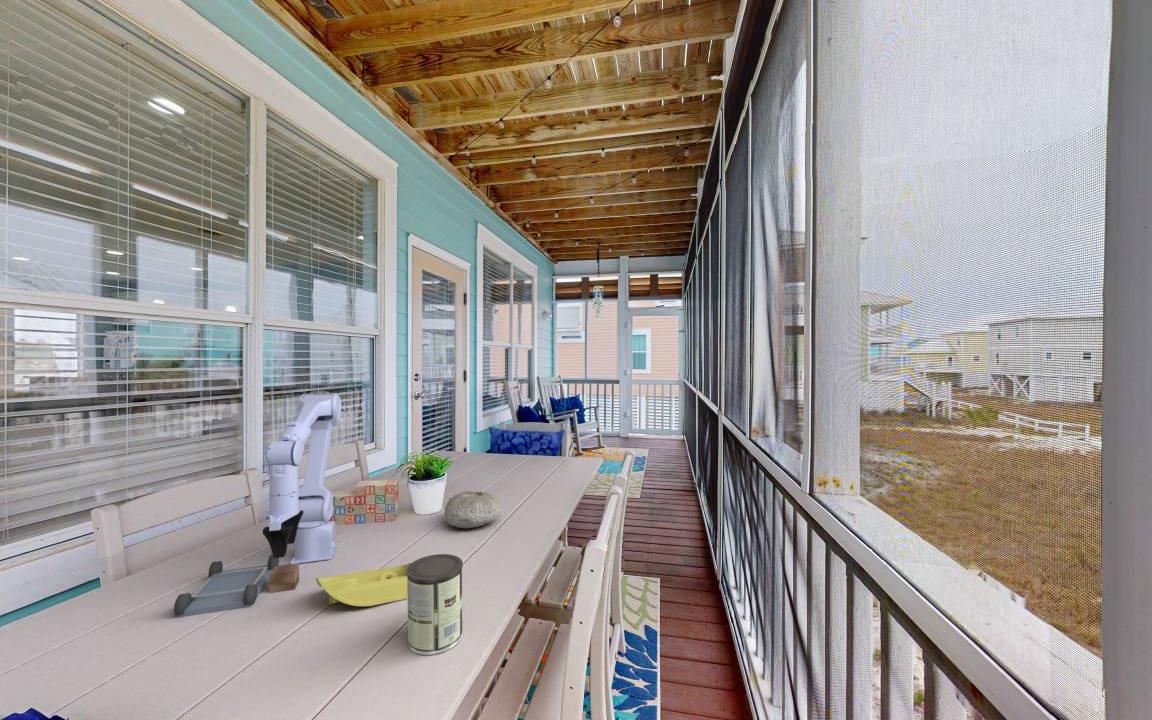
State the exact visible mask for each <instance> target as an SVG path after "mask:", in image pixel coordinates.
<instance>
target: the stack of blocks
mask: <svg viewBox="0 0 1152 720" xmlns="http://www.w3.org/2000/svg"><path fill="white" fill-rule="evenodd" d="M399 490H400V489H399V480H398V479H390V480H389V479H378V480H362V481H361V480H360V481H359V482H358V483H357V484H356V485H355V486H354V490H340V491H339V490H337V491H331V492H332V494H333V513H332V516H331V518H330V519H329V520H328V521H334V522H335V526H339V525H341V526H342V525H357V524H370V523H371V524H372V523H389V522H396V520H397V518H398V516H399V492H400V491H399Z"/></svg>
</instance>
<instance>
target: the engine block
mask: <svg viewBox="0 0 1152 720" xmlns="http://www.w3.org/2000/svg"><path fill="white" fill-rule="evenodd" d="M299 582H300V563H296V564H290V563H289V564H280V565H278V566H275V567H274V568H273V570H272V571H271V572H270V574H269V581H268V583H269V594H272V593H273V594H274V593H280V592H288V591H294V590H296V589H297V586H298V584H299Z"/></svg>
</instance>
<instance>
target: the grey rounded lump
mask: <svg viewBox="0 0 1152 720" xmlns="http://www.w3.org/2000/svg"><path fill="white" fill-rule="evenodd" d="M501 513H502V507H501V503H500V501H499V499H498V497H497V496H495V495H494V494H492V493H489V492H488V491H482V490H481V491H473V490H472V491H471V490H465V491H463V492H459V493H457V494H456V493H455V494H454V495H453V496H452V497H450V498H449V499H448V501H447V502H446V503H445V508H444V514H443V515H444V518H445V519H444V520H446V523H448V524H449V525H451V526H453V527H456V528H458V529H460V528H462V529H471V528H472V529H473V528H477V527H481V526H484V525H486V524H489V523H492V522H495V521H496V520H497V519H498V518H499V516H500V515H501Z"/></svg>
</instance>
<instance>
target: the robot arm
mask: <svg viewBox="0 0 1152 720" xmlns="http://www.w3.org/2000/svg"><path fill="white" fill-rule="evenodd" d="M297 412H298V414H297V416H296V418H295V420H294V421H291V422H289V423H288V424H286V426H285V427H284V429H283V430H282V432H281V433H280V435H279V436H278V438H277V439H276V440H275V441H272V442H270V443H268V444H267V445H266V446H265V449H264V452H263V453H264V454H263V462H264V464H265V467H266V468H265V469H266V474H267V475H269V477H268V478H269V482H268V485H269V486H268V487H269V489H268V490H269V493H268V494H269V501H268V503H269V510H267V511H265V512H264V513H263V514H262V515H263V518H267V517H268V520H269V525H268V526H264V527H263V529H262V535H263V536H264V537H265V539H266V540H267V543H268V544H269V548H270V551H271V555H273V557H274V558H279V559H280V558H285V556H286V554H287V549H288V545H293V544H294V555H293V557H292V559H291V560H290V562H289V564H296V563H299V564H304V563H312V562H320V561H328V560H331V559H332V557H333V555H334V552H335V551H336V549H337V546H336V525H335V522H334V521H328V520H329V519H330V518H331V516H332V513H333V494H332V492H333V491H331V490H330V489H328V488H326V487H325V486H324V484H325V478H326V471H327V465H328V457H329V450H330V445H331V438H332V431H333V428H334V427H336V426H338V425H339V422H340V419H341V413H342V399H341V396H340V395H339V394H338V393H334V394H301V396H300V397H299V398H298V401H297ZM310 435H311V437H310ZM309 438H310V444H309V451H308V455H307V456H308V457H307V462H306V468H305V472H304V474H305V475H304V479H303V485H302V487H300V488H299V465H300V464H301V462H302V459H303V454H304V451H305V444H306V443H307V442H308V440H309Z"/></svg>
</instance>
